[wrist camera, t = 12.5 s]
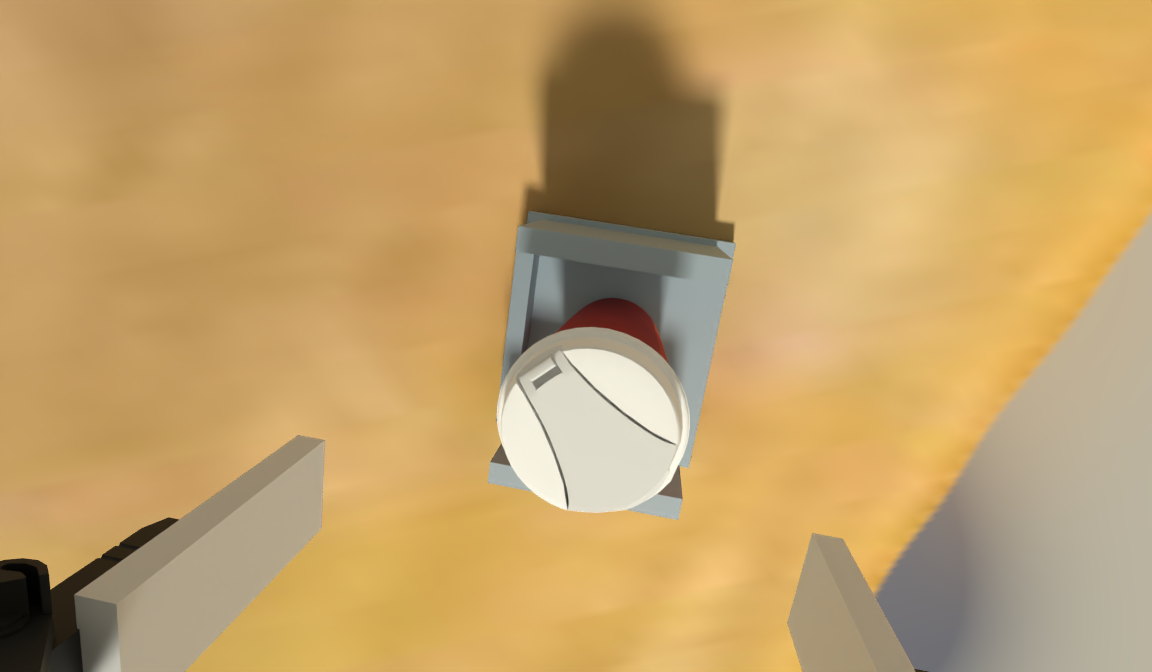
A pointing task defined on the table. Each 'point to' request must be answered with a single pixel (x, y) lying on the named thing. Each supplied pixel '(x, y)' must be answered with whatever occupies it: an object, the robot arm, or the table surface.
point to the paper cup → (595, 411)
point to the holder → (626, 271)
